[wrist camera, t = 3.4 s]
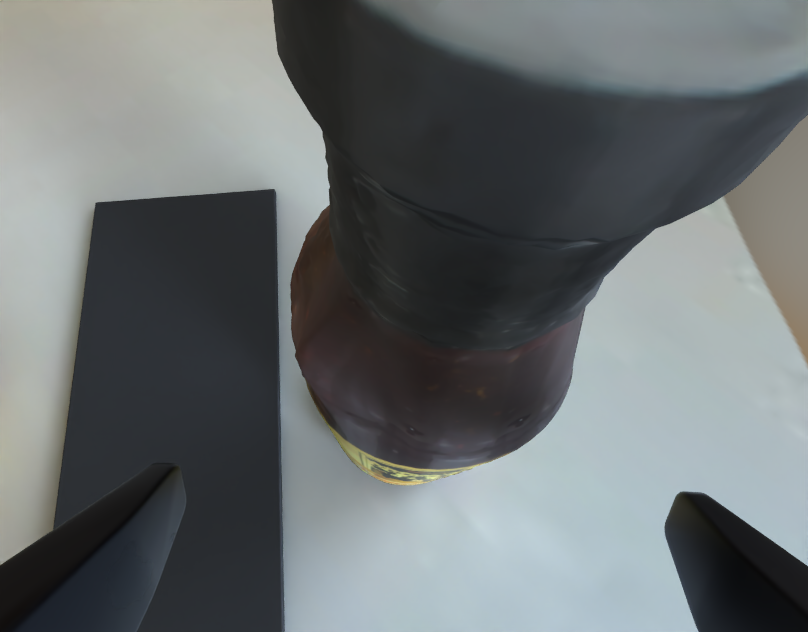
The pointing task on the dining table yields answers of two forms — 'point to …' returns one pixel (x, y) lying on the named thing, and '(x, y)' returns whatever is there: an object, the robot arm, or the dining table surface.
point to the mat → (187, 396)
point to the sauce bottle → (504, 193)
